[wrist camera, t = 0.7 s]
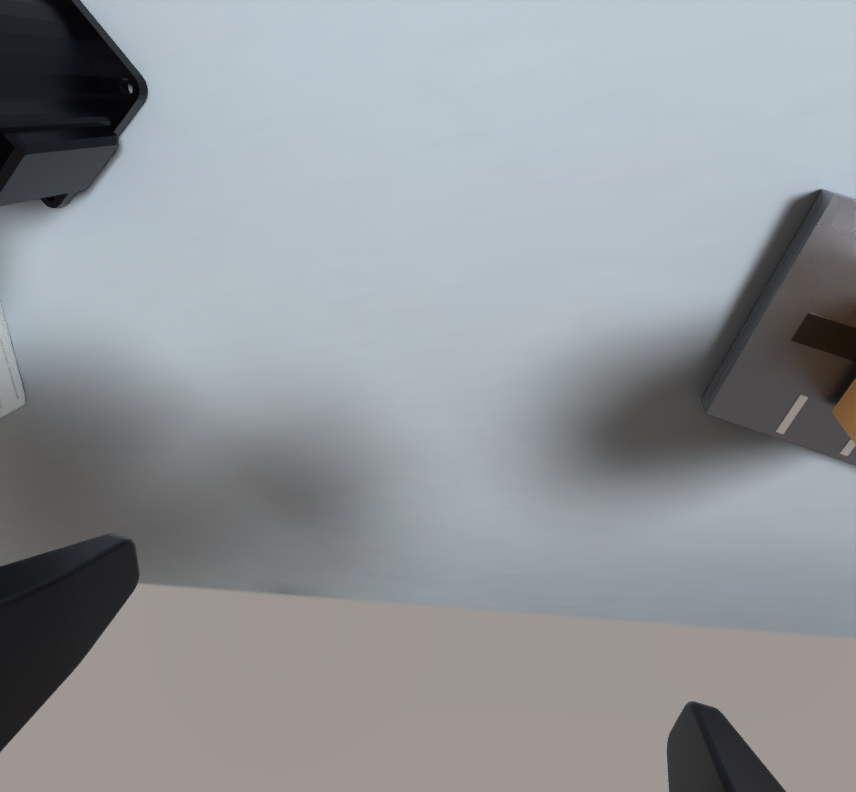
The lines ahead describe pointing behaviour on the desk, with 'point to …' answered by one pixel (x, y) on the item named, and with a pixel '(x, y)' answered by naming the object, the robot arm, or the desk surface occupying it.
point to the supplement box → (9, 374)
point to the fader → (847, 411)
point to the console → (799, 339)
